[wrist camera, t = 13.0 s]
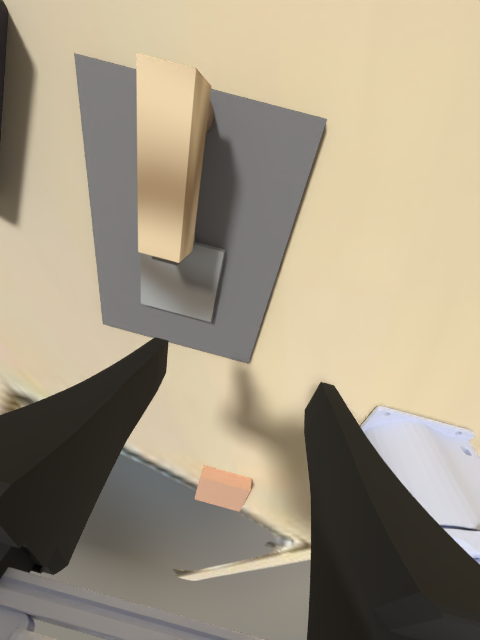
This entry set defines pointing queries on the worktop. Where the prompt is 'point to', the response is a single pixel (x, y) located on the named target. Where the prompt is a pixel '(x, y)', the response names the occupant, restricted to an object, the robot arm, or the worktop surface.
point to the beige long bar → (173, 188)
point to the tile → (223, 488)
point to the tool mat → (212, 212)
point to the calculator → (2, 52)
